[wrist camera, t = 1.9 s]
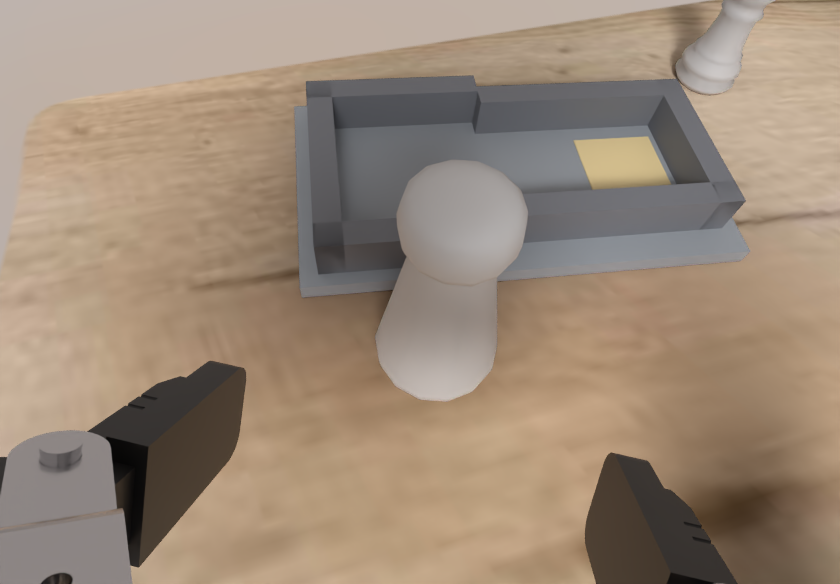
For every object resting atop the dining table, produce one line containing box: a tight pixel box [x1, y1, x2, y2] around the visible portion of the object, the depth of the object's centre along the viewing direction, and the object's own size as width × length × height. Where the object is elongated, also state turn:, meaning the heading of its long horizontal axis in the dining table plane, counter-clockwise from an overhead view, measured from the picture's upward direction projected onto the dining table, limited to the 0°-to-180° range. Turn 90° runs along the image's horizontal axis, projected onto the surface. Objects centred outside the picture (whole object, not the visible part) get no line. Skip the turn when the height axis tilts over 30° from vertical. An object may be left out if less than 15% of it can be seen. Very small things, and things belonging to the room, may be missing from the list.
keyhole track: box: [294, 76, 750, 298], centre depth 33 cm, size 26×14×4 cm, turn 98°
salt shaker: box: [375, 160, 528, 402], centre depth 23 cm, size 6×6×13 cm
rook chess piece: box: [675, 0, 775, 95], centre depth 38 cm, size 4×4×8 cm
